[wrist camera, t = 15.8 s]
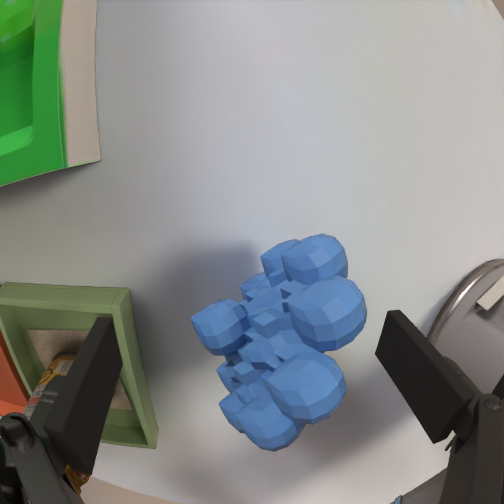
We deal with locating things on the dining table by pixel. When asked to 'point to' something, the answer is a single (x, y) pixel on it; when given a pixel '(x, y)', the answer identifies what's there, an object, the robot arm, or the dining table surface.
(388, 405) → the dining table surface
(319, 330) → the grapes
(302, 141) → the dining table surface
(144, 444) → the green tray
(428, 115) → the dining table surface
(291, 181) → the dining table surface
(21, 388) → the terracotta tray
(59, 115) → the tray
